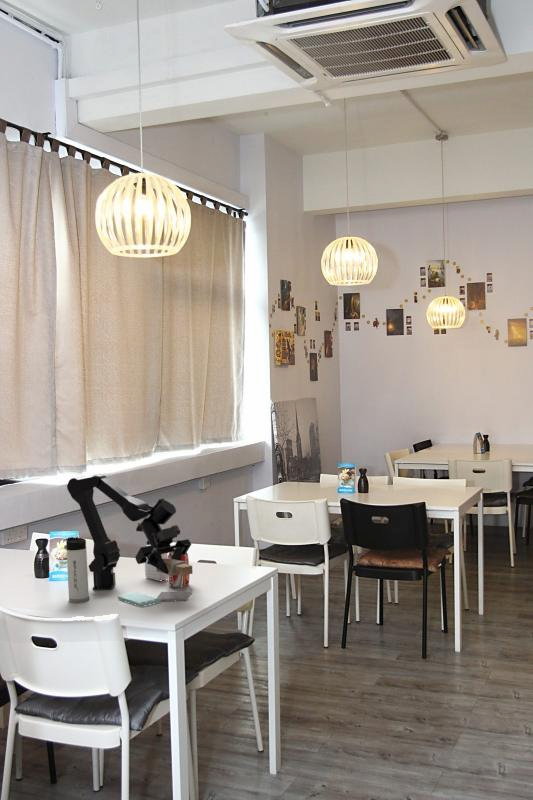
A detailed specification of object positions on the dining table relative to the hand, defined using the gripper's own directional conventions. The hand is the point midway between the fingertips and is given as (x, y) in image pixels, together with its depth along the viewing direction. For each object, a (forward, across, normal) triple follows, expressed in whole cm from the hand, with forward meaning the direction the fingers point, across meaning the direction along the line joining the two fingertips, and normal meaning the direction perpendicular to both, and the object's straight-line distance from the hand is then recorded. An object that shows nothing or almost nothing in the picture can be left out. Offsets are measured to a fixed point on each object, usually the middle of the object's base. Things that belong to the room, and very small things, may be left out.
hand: (174, 571), depth 269 cm
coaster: (+5, 0, +7) cm, 8 cm away
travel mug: (-10, -22, +22) cm, 33 cm away
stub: (+4, 0, -6) cm, 7 cm away
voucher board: (+2, -10, +10) cm, 14 cm away
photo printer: (-14, +11, +26) cm, 31 cm away
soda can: (-3, +10, +15) cm, 19 cm away
